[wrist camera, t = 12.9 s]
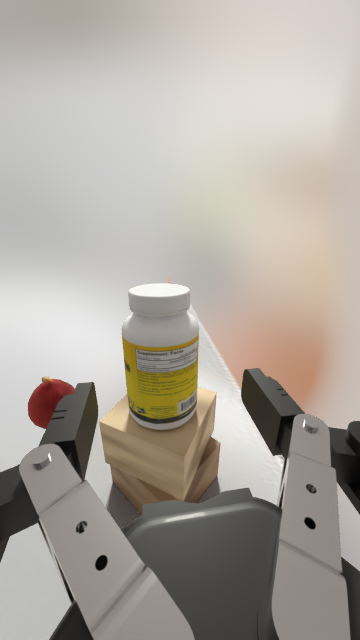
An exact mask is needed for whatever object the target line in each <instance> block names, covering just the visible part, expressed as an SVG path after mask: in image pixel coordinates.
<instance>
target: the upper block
mask: <svg viewBox="0 0 360 640" xmlns="http://www.w3.org/2000/svg"><path fill="white" fill-rule="evenodd" d="M215 406H216V392H213V391H209V390H206V389H203V388H199V387H197V406H196V410H195V412H194V414H193V416H192V417H191V418H190V419H189V420H188V421H187V422H186V423H184V424H183V425H181V426H179V427H176V428H173V429H167V430H156V429H151V428H147V427H144V426H142V425H140V424H139V423H137V422H136V421H135V420H134V419H133V417H132V416H131V414H130V411H129V405H128V395H126V396H125V397H124V398H123V399H122V400H121V401H120V402H119V403H117V404H116V405H115V407H114V408H112V410H110V411H109V412H108V413H107V414H106V415H105V416H104V417H103V418H102V419H101V420H100V421H99V423H100V429H101V436H102V442H103V449H104V455H105V461H106V463H108V464H110V465H112V466H114V467H116V468H118V469H120V470H122V471H124V472H126V473H128V474H130V475H132V476H134V477H136V478H138V479H140V480H142V481H144V482H146V483H148V484H150V485H152V486H154V487H156V488H158V489H160V490H162V491H164V492H166V493H168V494H170V495H172V496H174V497H175V498H177V499H179V500H181V501H184V499H185V496H186V494H187V492H188V489H189V487H190V485H191V482H192V480H193V478H194V475H195V473H196V470H197V468H198V466H199V463H200V461H201V459H202V456H203V454H204V452H205V449H206V447H207V444H208V442H209V440H210V437H211V435H212V433H213V430H214V419H215Z"/></svg>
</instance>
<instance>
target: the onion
mask: <svg viewBox="0 0 360 640" xmlns="http://www.w3.org/2000/svg"><path fill="white" fill-rule="evenodd" d="M42 382H43V383H42V384H40V385H39V386H38V387H37V388H36V389H35V390H34V392H33V393H32V395H31V397H30V399H29V402H28V415H29V417H30V419H31V421H32V422H33V423H34V424H35V425H37V426H39V427H41V428H44V429H47V426H48V424H49V422H50V420H51V418H52V415H53V413H54V412H55V409H56V407H57V404H58V402H59V401H60V400H61V399H62V398H63V397H64V396H66V395H70V394H73V393H74V391H75V389H74V387H73V386H72V385H70V384H68V383H66V382H64V381H61V380H58V379H57V380H56V379H51V378H49V377H43V378H42Z"/></svg>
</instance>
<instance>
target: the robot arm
mask: <svg viewBox="0 0 360 640" xmlns="http://www.w3.org/2000/svg"><path fill="white" fill-rule="evenodd" d="M241 397H242V401H243V404H244V406H245V407H246V409H247V411H248V413H249V414H250V416H251V418H252V420H253V421H254V423H255V425H256V427H257V428H258V430H259V432H260V434H261V435H262V437H263V439H264V441H265V442H266V444H267V446H268V448H269V449H270V451H271V453H272V455H273V456H275V455H283V457H284V458H285V459H284V463H283V469H282V476H281V482H280V489H279V495H278V501H277V506H276V505H274V504H272V503H270V502H268V501H266V500H263V499H260V498H256V497H252V494H251V492H250V489H249V488H243V489H237V490H231V491H224V492H222V493H220V494H218V495H216V496H214V497H212V498H210V499H208V500H206V501H204V502H202V503H189V502H180V501H172V500H168V501H162V502H156V503H150V504H143V515H141V516H139V517H137V518H135V519H134V520H132V521H131V522H129V523H128V524H127V525H126V526H125V527H124V528H123V529H122V530H121V529H120V528H119V527H118V525H117V524H116V522H115V521H114V519H113V518H112V516H111V515H110V513H109V512H108V510H107V509H106V507H105V506H104V504H103V503H102V502H101V500H100V499H99V497H98V496H97V494H96V493H95V491H94V490H93V488H92V487H91V485H90V484H89V483H88V481H87V480H84V479H85V474H86V469H87V465H88V460H89V456H90V451H91V446H92V442H93V437H94V433H95V428H96V424H97V419H98V405H97V398H96V391H95V385H94V383H93V382H89V383H78V384H77V386H76V388H75V391H74V393H73V394H70V395H66V396H64V397H63V398H62V399H61V400H60V401H59V402H58V404H57V407H56V409H55V412H54V413H53V415H52V418H51V420H50V422H49V424H48V426H47V429H46V431H45V433H44V435H43V437H42V440H41V442H40V444H39V446H38V447H37V448H35V449H33V450H32V451H30V452H29V453H28V454H27V455H26V456H25V457H24V458H23V460H22V461H21V463H20V464H19V465H18V466H15V467H13V468H11V469H8V470H5V471H3V472H0V562H1V559H2V556H3V554H4V551H5V548H6V545H7V543H8V540H9V537H10V536H11V535H13V534H15V533H18V532H20V531H22V530H24V529H26V528H28V527H30V526H32V525H34V524H36V523H38V525H39V527H40V530H41V532H42V534H43V537H44V539H45V542H46V544H47V546H48V549H49V551H50V553H51V556H52V558H53V561H54V563H55V565H56V568H57V570H58V573H59V576H60V578H61V581H62V583H63V586H64V588H65V591H66V593H67V596H68V598H69V600H70V603H71V606H70V607H69V609H68V611H67V612H66V614H65V615H64V617H63V619H62V620H61V622H60V623H59V625H58V626H57V628H56V630H55V631H54V633H53V634H52V636H51V637H50V639H49V640H360V571H358V570H357V569H356V568H355V567H353V566H352V565H351V564H350V563H349V562H347V561H346V560H345V559H344V558H342V557H341V547H340V532H339V514H338V498H337V483H338V484H339V485H340V487H341V488H342V490H343V491H344V492H345V494H346V495H347V497H348V498H349V500H350V501H351V503H352V504H353V506H354V507H355V508H356V510H357V511H358V513H359V514H360V421H353V422H351V423H350V424H349V425H348V428H347V430H344V429H337V428H330V427H328V426H327V425H326V424H325V423H324V422H323V421H322V420H320V419H319V418H317V417H315V416H312V415H309V414H305V413H304V412H303V411H302V410H301V408H300V407H299V406H298V405H297V404H296V402H295V401H294V400H293V399H292V398H291V397H290V396H289V395H288V393H287V392H286V391H285V390H284V389H283V387H282V386H281V385H280V384H279V383H278V382H277V381H275V380H274V379H272V378H271V377H266V376H265V375H264V374H263V372H262V371H261V370H260V369H259V368H256V369H245V370H244V373H243V382H242V390H241Z"/></svg>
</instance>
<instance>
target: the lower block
mask: <svg viewBox="0 0 360 640" xmlns="http://www.w3.org/2000/svg"><path fill="white" fill-rule="evenodd" d="M219 452H220V442H218V441H217V440H215V439H213V438H212V437H210V440H209V442H208V444H207V447H206V449H205V452H204V454H203V456H202V459H201V461H200V463H199V466H198V468H197V470H196V473H195V475H194V478H193V480H192V482H191V485H190V487H189V489H188V492H187V494H186V496H185V499H184V501H181V500H179V499H177V498H175V497H174V496H172V495H170V494H168V493H166V492H164V491H162V490H160V489H158V488H156V487H154V486H152V485H150V484H148V483H146V482H144V481H142V480H140V479H138V478H136V477H134V476H132V475H130V474H128V473H126V472H124V471H122V470H120V469H118V468H116V467H114V466H112V465H110V467H111V474H112V480H113V483H114V484H115V485H116V486H117V488H118V489H119V490H120V491H121V492H122V493H123V494H124V496H125V497H126V498H127V499H128V500H129V501H130V502H131V503H132V505H133V506H134V507H135V508H136V509H137V510H138V511H139V513H140V514H141V515H143V504H150V503H156V502H162V501H168V500H172V501H180V502H189V503H197V502H198V501H199V499H200V498H201V497H202V495H203V494H204V493H205V491H206V490H207V489H208V487H209V486H210V485H211V483H212V482H213V481H214V479H215V478H216V477H217V474H218V463H219Z"/></svg>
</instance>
